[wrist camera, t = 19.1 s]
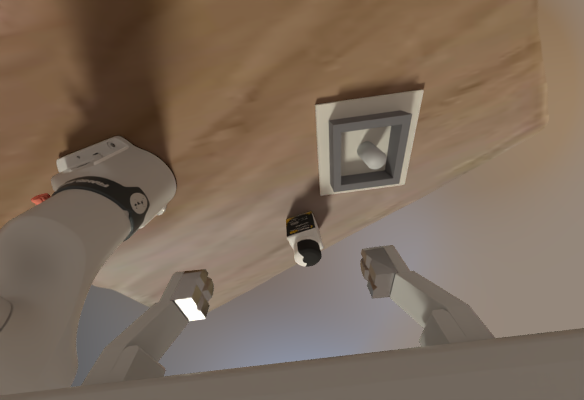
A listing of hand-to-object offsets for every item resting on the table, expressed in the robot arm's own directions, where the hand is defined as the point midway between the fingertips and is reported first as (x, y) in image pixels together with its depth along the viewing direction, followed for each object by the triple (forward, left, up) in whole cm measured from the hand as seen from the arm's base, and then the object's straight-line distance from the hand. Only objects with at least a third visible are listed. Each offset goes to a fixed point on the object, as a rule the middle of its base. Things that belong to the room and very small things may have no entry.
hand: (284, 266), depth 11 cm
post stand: (+17, -8, -35) cm, 40 cm away
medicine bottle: (+2, -27, -35) cm, 45 cm away
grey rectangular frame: (+16, -8, -34) cm, 39 cm away
